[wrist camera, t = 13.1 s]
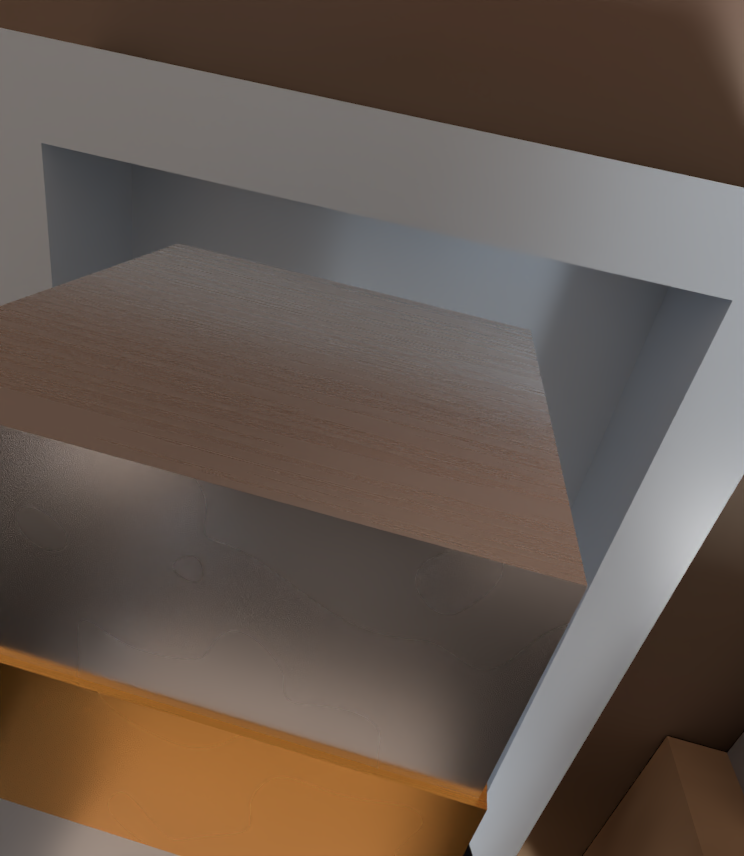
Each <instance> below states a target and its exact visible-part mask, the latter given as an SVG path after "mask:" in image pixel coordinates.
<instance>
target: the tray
mask: <svg viewBox="0 0 744 856" xmlns="http://www.w3.org/2000/svg"><path fill="white" fill-rule="evenodd" d="M178 243H181V244H185V245H189V246H193V247H198V248H202V249H206V250H210V251H214V252H218V253H222V254H226V255H230V256H234V257H238V258H242V259H246V260H250V261H254V262H258V263H262V264H266V265H270V266H274V267H278V268H282V269H286V270H290V271H294V272H298V273H302V274H306V275H310V276H314V277H318V278H323V279H327V280H331V281H335V282H339V283H343V284H347V285H351V286H355V287H359V288H363V289H367V290H371V291H375V292H379V293H383V294H387V295H391V296H395V297H399V298H403V299H407V300H411V301H415V302H419V303H423V304H427V305H431V306H435V307H439V308H443V309H448V310H452V311H456V312H460V313H464V314H468V315H472V316H476V317H480V318H484V319H488V320H492V321H496V322H500V323H504V324H508V325H512V326H516V327H520V328H524V329H528V330H531V334H532V338H533V343H534V347H535V352H536V356H537V361H538V365H539V370H540V374H541V379H542V383H543V388H544V392H545V397H546V401H547V406H548V410H549V415H550V419H551V424H552V428H553V433H554V437H555V442H556V446H557V451H558V455H559V460H560V464H561V469H562V473H563V478H564V482H565V487H566V491H567V496H568V500H569V505H570V509H571V514H572V518H573V523H574V527H575V532H576V536H577V541H578V545H579V550H580V554H581V559H582V563H583V568H584V572H585V577H586V581H587V586H588V587H587V589H586V591H585V593H584V595H583V597H582V599H581V600H580V602H579V604H578V606H577V608H576V610H575V612H574V614H573V616H572V618H571V620H570V622H569V624H568V626H567V628H566V630H565V632H564V634H563V636H562V637H561V639H560V641H559V643H558V645H557V647H556V649H555V651H554V653H553V655H552V657H551V659H550V661H549V663H548V665H547V667H546V669H545V671H544V673H543V674H542V676H541V678H540V680H539V682H538V684H537V686H536V688H535V690H534V692H533V694H532V696H531V698H530V700H529V702H528V704H527V706H526V708H525V709H524V711H523V713H522V715H521V717H520V719H519V721H518V723H517V725H516V727H515V729H514V731H513V733H512V735H511V737H510V739H509V741H508V743H507V745H506V746H505V748H504V750H503V752H502V754H501V756H500V758H499V760H498V762H497V764H496V766H495V768H494V770H493V772H492V774H491V776H490V778H489V780H488V782H487V811H486V813H485V815H484V817H483V819H482V821H481V822H480V824H479V826H478V828H477V830H476V832H475V834H474V835H473V837H472V839H471V841H470V843H469V845H470V848H471V852H472V855H473V856H516V855H517V854H518V852H519V850H520V849H521V847H522V845H523V844H524V842H525V840H526V839H527V837H528V835H529V834H530V832H531V830H532V829H533V827H534V825H535V824H536V822H537V820H538V819H539V817H540V815H541V814H542V812H543V810H544V808H545V807H546V805H547V803H548V802H549V800H550V798H551V797H552V795H553V793H554V792H555V790H556V788H557V787H558V785H559V783H560V782H561V780H562V778H563V777H564V775H565V773H566V772H567V770H568V768H569V767H570V765H571V763H572V762H573V760H574V758H575V756H576V755H577V753H578V751H579V750H580V748H581V746H582V745H583V743H584V741H585V740H586V738H587V736H588V735H589V733H590V731H591V730H592V728H593V726H594V725H595V723H596V721H597V720H598V718H599V716H600V715H601V713H602V711H603V710H604V708H605V706H606V705H607V703H608V701H609V699H610V698H611V696H612V694H613V693H614V691H615V689H616V688H617V686H618V684H619V683H620V681H621V679H622V678H623V676H624V674H625V673H626V671H627V669H628V668H629V666H630V664H631V663H632V661H633V659H634V658H635V656H636V654H637V653H638V651H639V649H640V647H641V646H642V644H643V642H644V641H645V639H646V637H647V636H648V634H649V632H650V631H651V629H652V627H653V626H654V624H655V622H656V621H657V619H658V617H659V616H660V614H661V612H662V611H663V609H664V607H665V606H666V604H667V602H668V601H669V599H670V597H671V596H672V594H673V592H674V590H675V589H676V587H677V585H678V584H679V582H680V580H681V579H682V577H683V575H684V574H685V572H686V570H687V569H688V567H689V565H690V564H691V562H692V560H693V559H694V557H695V555H696V554H697V552H698V550H699V549H700V547H701V545H702V544H703V542H704V540H705V538H706V537H707V535H708V533H709V532H710V530H711V528H712V527H713V525H714V523H715V522H716V520H717V518H718V517H719V515H720V513H721V512H722V510H723V508H724V507H725V505H726V503H727V502H728V500H729V498H730V497H731V495H732V493H733V492H734V490H735V488H736V487H737V485H738V483H739V481H740V480H741V478H742V476H743V475H744V188H743V187H739V186H734V185H729V184H725V183H720V182H715V181H711V180H706V179H701V178H697V177H692V176H687V175H683V174H678V173H674V172H669V171H664V170H660V169H655V168H650V167H646V166H641V165H636V164H632V163H627V162H622V161H618V160H613V159H608V158H604V157H599V156H595V155H590V154H585V153H581V152H576V151H571V150H567V149H562V148H557V147H553V146H548V145H543V144H539V143H534V142H529V141H525V140H520V139H516V138H511V137H506V136H502V135H497V134H492V133H488V132H483V131H478V130H474V129H469V128H464V127H460V126H455V125H451V124H446V123H441V122H437V121H432V120H427V119H423V118H418V117H413V116H409V115H404V114H399V113H395V112H390V111H385V110H381V109H376V108H372V107H367V106H362V105H358V104H353V103H348V102H344V101H339V100H334V99H330V98H325V97H320V96H316V95H311V94H306V93H302V92H297V91H293V90H288V89H283V88H279V87H274V86H269V85H265V84H260V83H255V82H251V81H246V80H241V79H237V78H232V77H228V76H223V75H218V74H214V73H209V72H204V71H200V70H195V69H190V68H186V67H181V66H176V65H172V64H167V63H162V62H158V61H153V60H149V59H144V58H139V57H135V56H130V55H125V54H121V53H116V52H111V51H107V50H102V49H97V48H93V47H88V46H83V45H79V44H74V43H70V42H65V41H60V40H56V39H51V38H46V37H42V36H37V35H32V34H28V33H23V32H18V31H14V30H9V29H4V28H0V306H1V305H4V304H7V303H10V302H13V301H16V300H18V299H21V298H24V297H27V296H30V295H33V294H36V293H38V292H41V291H44V290H47V289H50V288H53V287H55V286H58V285H61V284H64V283H67V282H70V281H72V280H75V279H78V278H81V277H84V276H87V275H89V274H92V273H95V272H98V271H101V270H104V269H107V268H109V267H112V266H115V265H118V264H121V263H124V262H126V261H129V260H132V259H135V258H138V257H141V256H143V255H146V254H149V253H152V252H155V251H158V250H161V249H163V248H166V247H169V246H172V245H175V244H178Z"/></svg>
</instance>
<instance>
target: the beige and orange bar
mask: <svg viewBox="0 0 744 856" xmlns="http://www.w3.org/2000/svg"><path fill="white" fill-rule="evenodd" d="M587 587H588V586H587V581H586V577H585V572H584V568H583V563H582V559H581V554H580V550H579V545H578V541H577V536H576V532H575V527H574V523H573V518H572V514H571V509H570V505H569V500H568V496H567V491H566V487H565V482H564V478H563V473H562V469H561V464H560V460H559V455H558V451H557V446H556V442H555V437H554V433H553V428H552V424H551V419H550V415H549V410H548V406H547V401H546V397H545V392H544V388H543V383H542V379H541V374H540V370H539V365H538V361H537V356H536V352H535V347H534V343H533V338H532V334H531V330H528V329H524V328H520V327H516V326H512V325H508V324H504V323H500V322H496V321H492V320H488V319H484V318H480V317H476V316H472V315H468V314H464V313H460V312H456V311H452V310H448V309H443V308H439V307H435V306H431V305H427V304H423V303H419V302H415V301H411V300H407V299H403V298H399V297H395V296H391V295H387V294H383V293H379V292H375V291H371V290H367V289H363V288H359V287H355V286H351V285H347V284H343V283H339V282H335V281H331V280H327V279H323V278H318V277H314V276H310V275H306V274H302V273H298V272H294V271H290V270H286V269H282V268H278V267H274V266H270V265H266V264H262V263H258V262H254V261H250V260H246V259H242V258H238V257H234V256H230V255H226V254H222V253H218V252H214V251H210V250H206V249H202V248H198V247H193V246H189V245H185V244H181V243H178V244H175V245H172V246H169V247H166V248H163V249H161V250H158V251H155V252H152V253H149V254H146V255H143V256H141V257H138V258H135V259H132V260H129V261H126V262H124V263H121V264H118V265H115V266H112V267H109V268H107V269H104V270H101V271H98V272H95V273H92V274H89V275H87V276H84V277H81V278H78V279H75V280H72V281H70V282H67V283H64V284H61V285H58V286H55V287H53V288H50V289H47V290H44V291H41V292H38V293H36V294H33V295H30V296H27V297H24V298H21V299H18V300H16V301H13V302H10V303H7V304H4V305H1V306H0V856H463V854H464V852H465V850H466V849H467V847H468V845H469V843H470V841H471V839H472V837H473V835H474V834H475V832H476V830H477V828H478V826H479V824H480V822H481V821H482V819H483V817H484V815H485V813H486V811H487V782H488V780H489V778H490V776H491V774H492V772H493V770H494V768H495V766H496V764H497V762H498V760H499V758H500V756H501V754H502V752H503V750H504V748H505V746H506V745H507V743H508V741H509V739H510V737H511V735H512V733H513V731H514V729H515V727H516V725H517V723H518V721H519V719H520V717H521V715H522V713H523V711H524V709H525V708H526V706H527V704H528V702H529V700H530V698H531V696H532V694H533V692H534V690H535V688H536V686H537V684H538V682H539V680H540V678H541V676H542V674H543V673H544V671H545V669H546V667H547V665H548V663H549V661H550V659H551V657H552V655H553V653H554V651H555V649H556V647H557V645H558V643H559V641H560V639H561V637H562V636H563V634H564V632H565V630H566V628H567V626H568V624H569V622H570V620H571V618H572V616H573V614H574V612H575V610H576V608H577V606H578V604H579V602H580V600H581V599H582V597H583V595H584V593H585V591H586V589H587Z"/></svg>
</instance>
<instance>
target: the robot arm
mask: <svg viewBox="0 0 744 856" xmlns="http://www.w3.org/2000/svg"><path fill="white" fill-rule="evenodd" d="M463 856H473V855H472V852H471V848H470V845H468V847H467V849H466V850H465V852H464V854H463Z"/></svg>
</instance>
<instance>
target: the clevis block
mask: <svg viewBox="0 0 744 856" xmlns="http://www.w3.org/2000/svg"><path fill="white" fill-rule="evenodd" d="M583 856H744V732H743V734H742V735H741V736H740V737H739V739H738V740H737V741H736V742H735V744H734V745H733V746H732V747H731V749H730V750H729V751H728V752H727V753H726V752H723V751H719V750H715V749H712V748H708V747H705V746H701V745H697V744H694V743H690V742H687V741H683V740H679V739H676V738H672V737H669V736H667V737H666V738H665V740H664V741H663V743H662V744H661V745H660V747H659V748H658V750H657V751H656V753H655V754H654V755H653V757H652V758H651V760H650V761H649V763H648V764H647V765H646V767H645V768H644V770H643V771H642V772H641V774H640V775H639V777H638V778H637V780H636V781H635V782H634V784H633V785H632V787H631V788H630V790H629V791H628V792H627V794H626V795H625V797H624V798H623V799H622V801H621V802H620V804H619V805H618V807H617V808H616V809H615V811H614V812H613V814H612V815H611V817H610V818H609V819H608V821H607V822H606V824H605V825H604V826H603V828H602V829H601V831H600V832H599V834H598V835H597V836H596V838H595V839H594V841H593V842H592V844H591V845H590V846H589V848H588V849H587V851H586V852H585V853H584V855H583Z"/></svg>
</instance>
